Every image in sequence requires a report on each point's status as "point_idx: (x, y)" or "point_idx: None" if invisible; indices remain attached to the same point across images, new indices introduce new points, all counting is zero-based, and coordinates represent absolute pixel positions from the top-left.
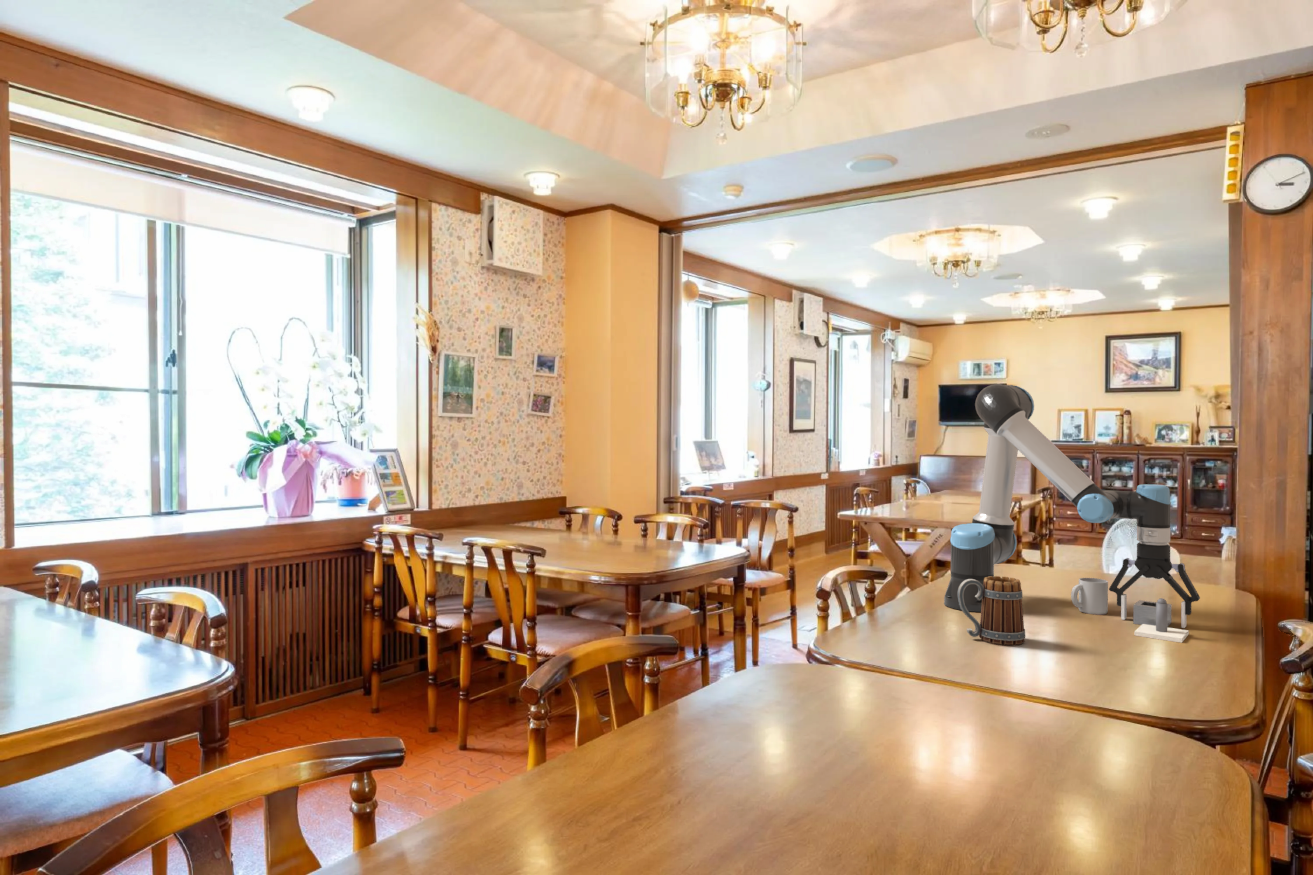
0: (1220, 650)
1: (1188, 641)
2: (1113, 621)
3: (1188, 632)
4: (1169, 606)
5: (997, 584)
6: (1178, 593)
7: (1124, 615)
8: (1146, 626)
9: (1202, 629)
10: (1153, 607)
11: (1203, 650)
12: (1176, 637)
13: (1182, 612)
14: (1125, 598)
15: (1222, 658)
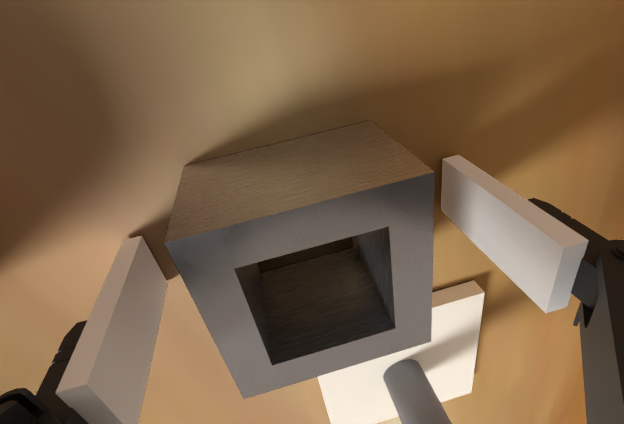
0: (555, 362)
1: (478, 354)
2: (156, 339)
3: (479, 288)
4: (431, 250)
5: None
6: (589, 381)
7: (162, 298)
8: None
9: (526, 136)
10: (360, 362)
11: (515, 392)
12: (455, 395)
13: (499, 260)
14: (122, 379)
15: (550, 407)
